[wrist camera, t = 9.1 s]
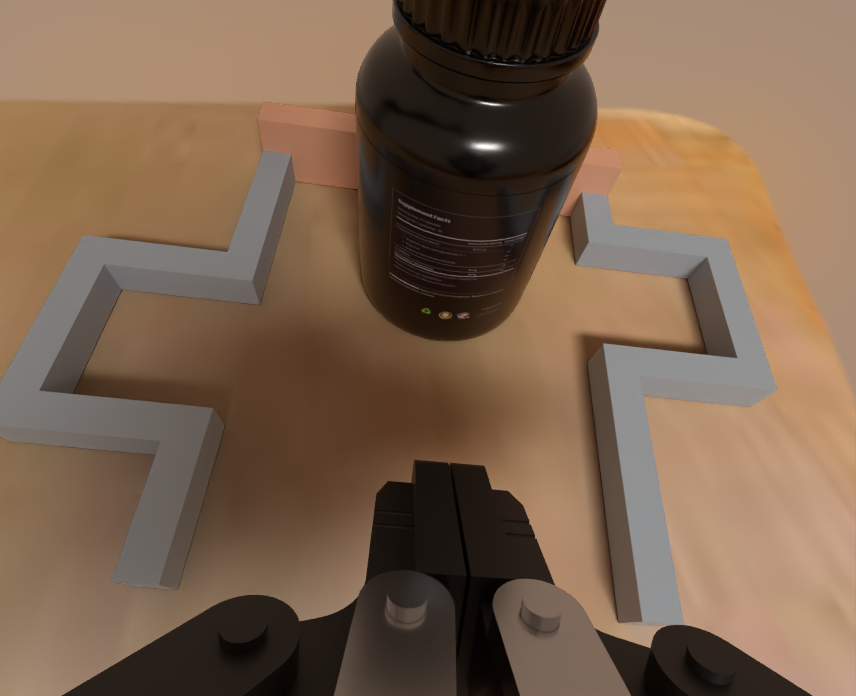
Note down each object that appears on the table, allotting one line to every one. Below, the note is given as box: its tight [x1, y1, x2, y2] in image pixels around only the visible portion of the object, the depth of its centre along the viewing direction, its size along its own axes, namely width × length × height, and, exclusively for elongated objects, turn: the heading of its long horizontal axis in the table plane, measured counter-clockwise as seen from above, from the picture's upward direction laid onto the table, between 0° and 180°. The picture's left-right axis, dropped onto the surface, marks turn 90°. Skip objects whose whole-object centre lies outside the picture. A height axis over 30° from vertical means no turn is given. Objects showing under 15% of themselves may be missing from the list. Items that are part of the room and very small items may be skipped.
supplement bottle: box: [355, 0, 606, 341], centre depth 16 cm, size 7×7×12 cm
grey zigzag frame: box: [0, 102, 777, 626], centre depth 18 cm, size 26×18×3 cm
